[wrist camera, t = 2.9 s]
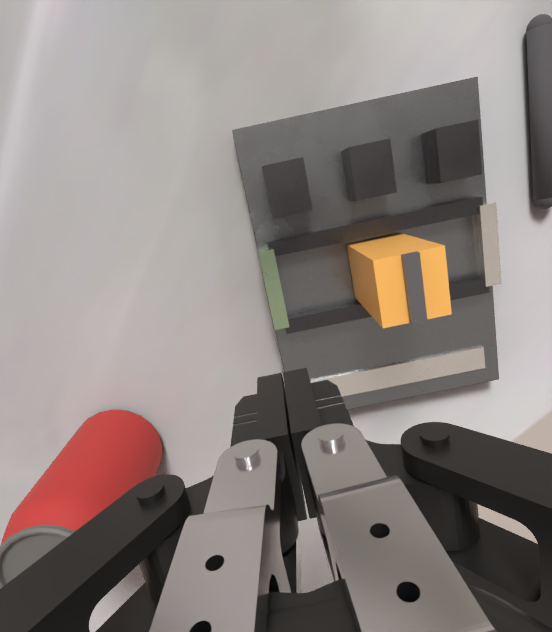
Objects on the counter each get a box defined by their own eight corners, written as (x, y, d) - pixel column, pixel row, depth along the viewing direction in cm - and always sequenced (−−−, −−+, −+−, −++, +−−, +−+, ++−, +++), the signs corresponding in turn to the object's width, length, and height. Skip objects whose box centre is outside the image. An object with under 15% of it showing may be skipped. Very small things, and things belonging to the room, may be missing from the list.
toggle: (401, 233, 28) (448, 246, 21) (408, 286, 29) (455, 316, 22) (346, 244, 28) (375, 261, 21) (355, 297, 29) (385, 330, 22)
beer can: (138, 494, 35) (77, 643, 23) (62, 456, 34) (-41, 591, 22) (180, 432, 34) (137, 558, 22) (103, 390, 32) (15, 498, 21)
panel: (466, 83, 28) (498, 65, 24) (488, 371, 33) (517, 393, 29) (233, 133, 28) (229, 124, 24) (293, 410, 33) (297, 437, 30)
